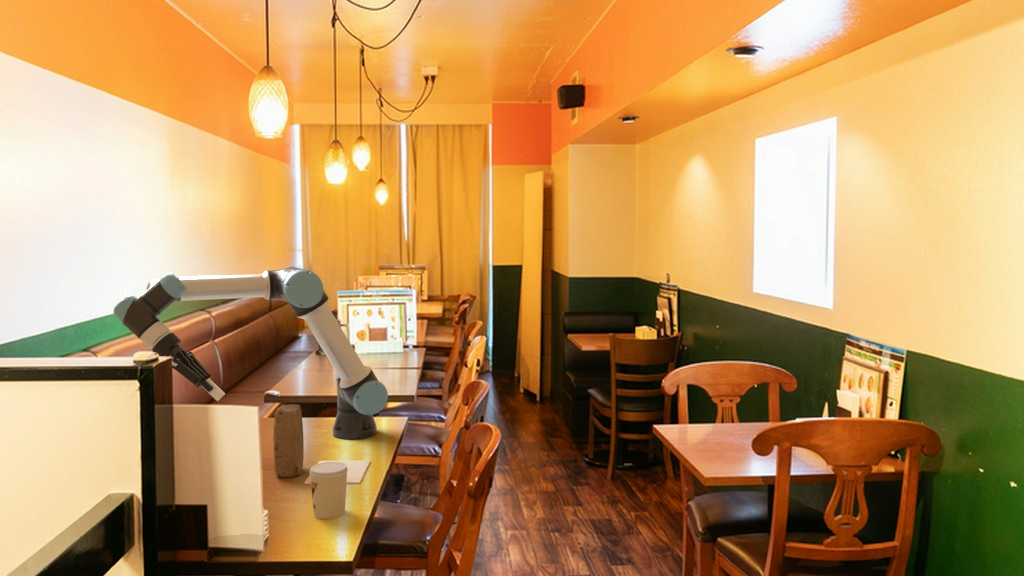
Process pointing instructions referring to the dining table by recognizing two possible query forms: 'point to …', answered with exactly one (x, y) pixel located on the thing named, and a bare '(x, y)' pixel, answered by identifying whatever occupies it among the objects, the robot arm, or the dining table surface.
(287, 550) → the dining table surface
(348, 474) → the mat
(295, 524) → the dining table surface
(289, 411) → the block
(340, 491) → the coffee cup
